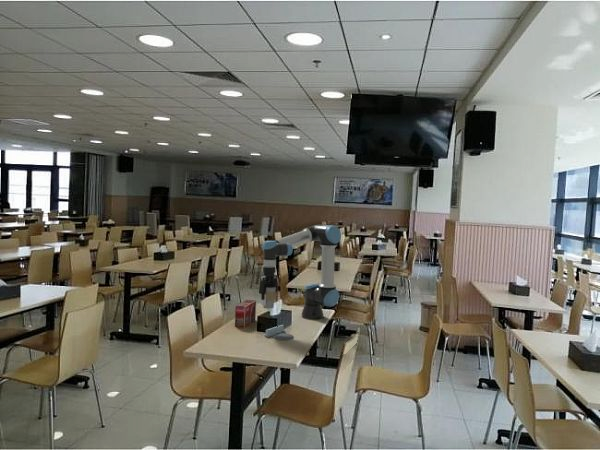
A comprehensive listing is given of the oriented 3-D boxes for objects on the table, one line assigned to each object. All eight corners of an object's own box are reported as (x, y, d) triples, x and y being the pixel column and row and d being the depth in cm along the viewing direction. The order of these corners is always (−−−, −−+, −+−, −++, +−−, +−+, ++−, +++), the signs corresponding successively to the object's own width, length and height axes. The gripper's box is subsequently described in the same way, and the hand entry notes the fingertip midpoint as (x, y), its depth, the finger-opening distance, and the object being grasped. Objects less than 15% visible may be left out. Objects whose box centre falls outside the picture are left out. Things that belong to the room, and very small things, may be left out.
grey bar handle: (280, 330, 288) (281, 324, 288) (284, 331, 286) (285, 325, 286) (264, 336, 275) (264, 329, 275) (268, 337, 273) (268, 330, 273)
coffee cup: (272, 309, 278) (273, 284, 277) (257, 308, 281) (258, 283, 281) (278, 306, 287) (279, 282, 286) (264, 305, 290) (265, 281, 289)
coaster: (281, 333, 283) (281, 332, 283) (297, 337, 276) (297, 336, 276) (268, 337, 273) (268, 336, 273) (285, 341, 266) (285, 340, 266)
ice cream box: (244, 328, 292) (245, 306, 292) (234, 327, 294) (235, 305, 293) (255, 320, 312) (256, 300, 311) (246, 319, 313) (246, 299, 313)
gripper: (275, 264, 293) (274, 300, 295) (253, 267, 277) (252, 305, 278) (285, 265, 289) (283, 302, 290) (262, 268, 272) (261, 307, 273)
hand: (268, 303), depth 284 cm, fingers closed on coffee cup, 8 cm apart
